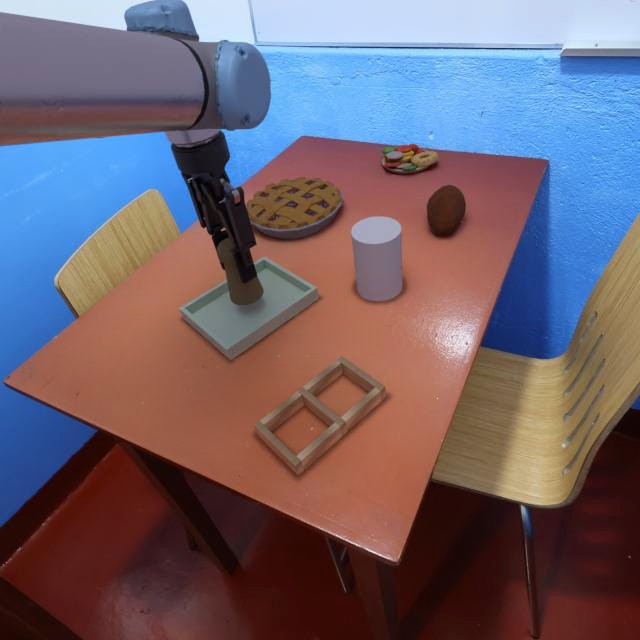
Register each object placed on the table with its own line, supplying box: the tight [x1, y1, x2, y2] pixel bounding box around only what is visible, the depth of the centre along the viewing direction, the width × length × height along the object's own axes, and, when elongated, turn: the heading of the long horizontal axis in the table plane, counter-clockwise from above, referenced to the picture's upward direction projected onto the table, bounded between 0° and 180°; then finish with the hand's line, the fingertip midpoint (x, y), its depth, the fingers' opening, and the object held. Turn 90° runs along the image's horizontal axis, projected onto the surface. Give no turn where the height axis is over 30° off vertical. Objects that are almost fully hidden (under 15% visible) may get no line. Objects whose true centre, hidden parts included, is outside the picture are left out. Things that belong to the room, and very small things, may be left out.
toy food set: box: [381, 143, 440, 175], centre depth 117 cm, size 13×13×3 cm
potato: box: [426, 184, 467, 236], centre depth 94 cm, size 8×12×8 cm, turn 160°
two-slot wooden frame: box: [253, 355, 387, 477], centre depth 65 cm, size 17×9×2 cm, turn 133°
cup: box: [350, 215, 403, 302], centre depth 81 cm, size 8×8×12 cm
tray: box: [178, 256, 320, 361], centre depth 84 cm, size 20×16×3 cm
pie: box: [246, 176, 344, 240], centre depth 105 cm, size 22×22×5 cm
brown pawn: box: [216, 238, 264, 305], centre depth 79 cm, size 6×6×11 cm
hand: (239, 272), depth 79 cm, fingers closed on brown pawn, 5 cm apart
